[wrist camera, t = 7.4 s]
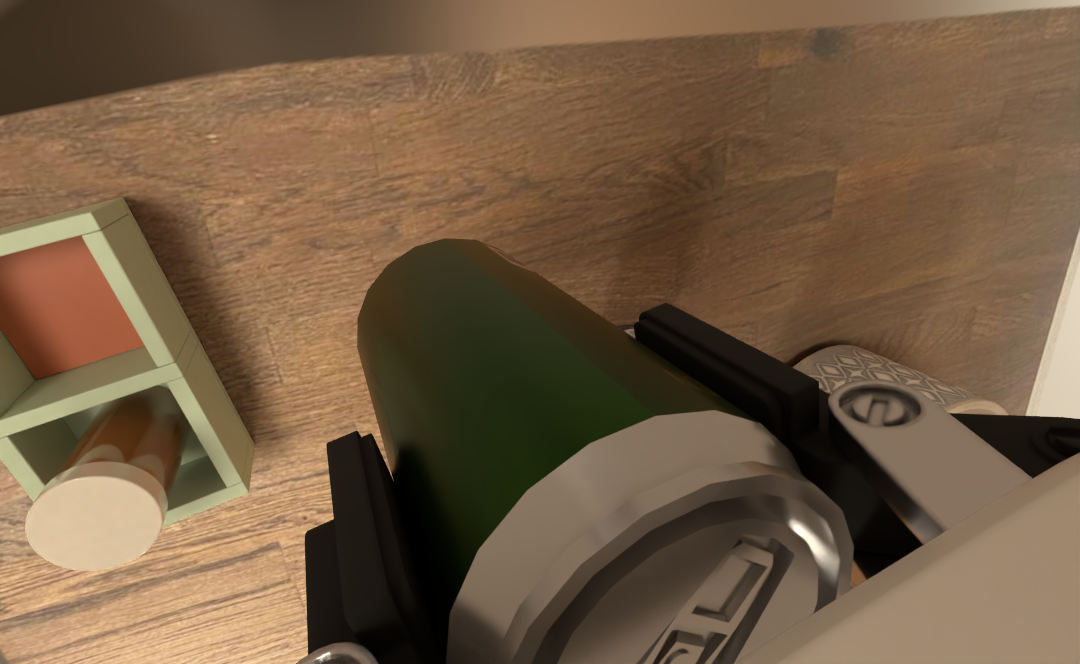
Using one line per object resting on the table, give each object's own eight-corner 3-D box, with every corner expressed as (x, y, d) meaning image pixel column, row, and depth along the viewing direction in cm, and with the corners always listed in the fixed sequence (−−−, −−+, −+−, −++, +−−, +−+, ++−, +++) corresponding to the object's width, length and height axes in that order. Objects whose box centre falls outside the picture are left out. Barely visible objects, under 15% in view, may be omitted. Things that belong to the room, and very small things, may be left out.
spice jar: (77, 401, 30) (-4, 506, 22) (172, 370, 31) (128, 458, 23) (123, 469, 31) (64, 589, 24) (210, 437, 33) (182, 541, 25)
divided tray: (-72, 245, 26) (-148, 272, 21) (123, 196, 28) (90, 211, 23) (108, 500, 32) (78, 561, 28) (255, 445, 34) (249, 493, 30)
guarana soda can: (413, 196, 15) (667, 377, 5) (562, 285, 18) (929, 524, 8) (318, 364, 16) (368, 842, 6) (476, 426, 18) (709, 826, 8)
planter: (869, 453, 59) (1000, 530, 48) (742, 522, 55) (854, 624, 44) (874, 313, 52) (1029, 366, 41) (729, 380, 48) (858, 460, 37)
